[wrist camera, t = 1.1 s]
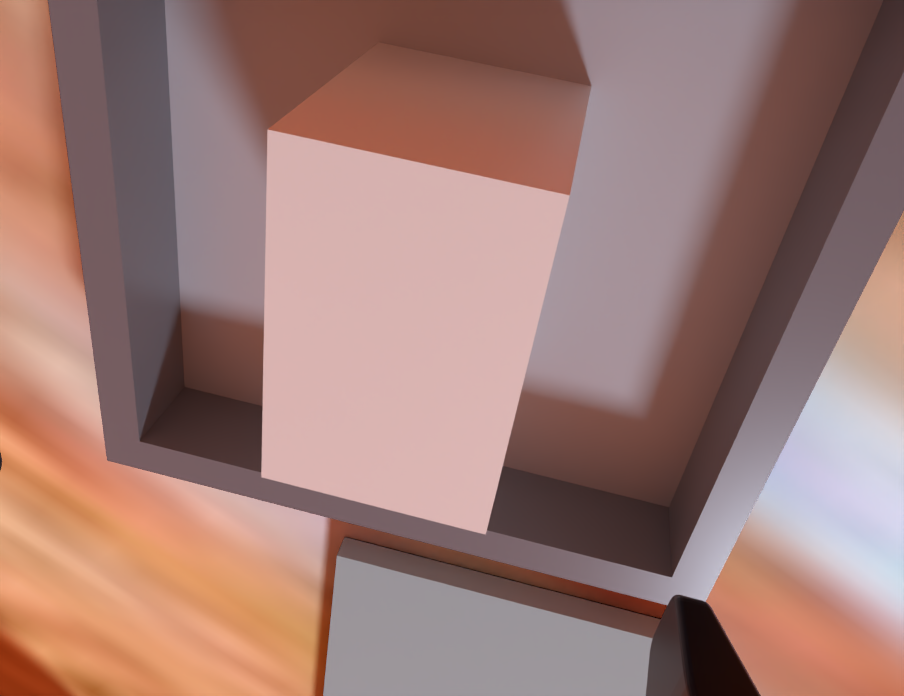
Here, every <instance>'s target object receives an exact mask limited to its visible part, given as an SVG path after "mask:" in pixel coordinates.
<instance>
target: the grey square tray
mask: <svg viewBox="0 0 904 696" xmlns="http://www.w3.org/2000/svg"><path fill="white" fill-rule="evenodd" d="M48 4H49V12H50V20H51V28H52V36H53V43H54V51H55V59H56V67H57V74H58V82H59V90H60V98H61V105H62V113H63V121H64V129H65V137H66V144H67V152H68V160H69V168H70V175H71V183H72V191H73V199H74V207H75V214H76V222H77V230H78V238H79V245H80V253H81V261H82V269H83V277H84V284H85V292H86V300H87V308H88V315H89V323H90V331H91V339H92V347H93V354H94V362H95V370H96V378H97V385H98V393H99V401H100V409H101V416H102V424H103V432H104V440H105V448H106V455H107V460H108V461H111V462H115V463H119V464H123V465H127V466H131V467H135V468H138V469H142V470H146V471H150V472H154V473H158V474H162V475H165V476H169V477H173V478H177V479H181V480H185V481H189V482H193V483H196V484H200V485H204V486H208V487H212V488H216V489H220V490H223V491H227V492H231V493H235V494H239V495H243V496H247V497H251V498H254V499H258V500H262V501H266V502H270V503H274V504H278V505H281V506H285V507H289V508H293V509H297V510H301V511H305V512H308V513H312V514H316V515H320V516H324V517H328V518H332V519H336V520H339V521H343V522H347V523H351V524H355V525H359V526H363V527H366V528H370V529H374V530H378V531H382V532H386V533H390V534H393V535H397V536H401V537H405V538H409V539H413V540H417V541H421V542H424V543H428V544H432V545H436V546H440V547H444V548H448V549H451V550H455V551H459V552H463V553H467V554H471V555H475V556H479V557H482V558H486V559H490V560H494V561H498V562H502V563H506V564H509V565H513V566H517V567H521V568H525V569H529V570H533V571H536V572H540V573H544V574H548V575H552V576H556V577H560V578H564V579H567V580H571V581H575V582H579V583H583V584H587V585H591V586H594V587H598V588H602V589H606V590H610V591H614V592H618V593H621V594H625V595H629V596H633V597H637V598H641V599H645V600H649V601H652V602H656V603H660V604H664V605H668V603H669V601H670V599H671V598H672V597H673V596H675V595H683V596H687V597H691V598H694V599H698V600H702V601H705V602H706V600H707V598H708V596H709V594H710V592H711V590H712V588H713V586H714V584H715V582H716V580H717V578H718V576H719V574H720V572H721V570H722V568H723V566H724V564H725V562H726V560H727V558H728V556H729V554H730V552H731V550H732V548H733V546H734V544H735V542H736V540H737V538H738V536H739V534H740V532H741V530H742V529H743V527H744V525H745V523H746V521H747V519H748V517H749V515H750V513H751V511H752V509H753V507H754V505H755V503H756V501H757V499H758V497H759V495H760V493H761V491H762V489H763V487H764V485H765V483H766V481H767V479H768V477H769V475H770V473H771V471H772V469H773V467H774V465H775V463H776V461H777V459H778V457H779V455H780V454H781V452H782V450H783V448H784V446H785V444H786V442H787V440H788V438H789V436H790V434H791V432H792V430H793V428H794V426H795V424H796V422H797V420H798V418H799V416H800V414H801V412H802V410H803V408H804V406H805V404H806V402H807V400H808V398H809V396H810V394H811V392H812V390H813V388H814V386H815V384H816V382H817V380H818V379H819V377H820V375H821V373H822V371H823V369H824V367H825V365H826V363H827V361H828V359H829V357H830V355H831V353H832V351H833V349H834V347H835V345H836V343H837V341H838V339H839V337H840V335H841V333H842V331H843V329H844V327H845V325H846V323H847V321H848V319H849V317H850V315H851V313H852V311H853V309H854V307H855V306H856V304H857V302H858V300H859V298H860V296H861V294H862V292H863V290H864V288H865V286H866V284H867V282H868V280H869V278H870V276H871V274H872V272H873V270H874V268H875V266H876V264H877V262H878V260H879V258H880V256H881V254H882V252H883V250H884V248H885V246H886V244H887V242H888V240H889V238H890V236H891V234H892V232H893V231H894V229H895V227H896V225H897V223H898V221H899V219H900V217H901V215H902V213H903V211H904V0H48ZM379 42H380V43H385V44H390V45H395V46H399V47H404V48H409V49H414V50H419V51H424V52H429V53H433V54H438V55H443V56H448V57H453V58H458V59H462V60H467V61H472V62H477V63H482V64H487V65H492V66H496V67H501V68H506V69H511V70H516V71H521V72H525V73H530V74H535V75H540V76H545V77H550V78H555V79H559V80H564V81H569V82H574V83H579V84H584V85H588V86H591V91H590V96H589V101H588V106H587V111H586V116H585V121H584V126H583V131H582V136H581V141H580V146H579V151H578V156H577V161H576V166H575V171H574V176H573V182H572V187H571V192H570V196H569V200H568V204H567V209H566V213H565V217H564V221H563V225H562V229H561V233H560V237H559V241H558V245H557V249H556V253H555V257H554V261H553V265H552V269H551V273H550V277H549V281H548V285H547V289H546V293H545V297H544V301H543V305H542V309H541V313H540V317H539V321H538V326H537V330H536V334H535V338H534V342H533V346H532V350H531V354H530V358H529V362H528V366H527V370H526V374H525V378H524V382H523V386H522V390H521V394H520V398H519V402H518V406H517V410H516V414H515V418H514V422H513V426H512V430H511V434H510V438H509V443H508V447H507V451H506V455H505V459H504V463H503V467H502V471H501V475H500V479H499V483H498V487H497V491H496V495H495V499H494V503H493V507H492V511H491V515H490V519H489V523H488V527H487V531H486V535H485V534H481V533H477V532H473V531H469V530H465V529H461V528H458V527H454V526H450V525H446V524H442V523H438V522H434V521H430V520H426V519H422V518H419V517H415V516H411V515H407V514H403V513H399V512H395V511H391V510H387V509H383V508H380V507H376V506H372V505H368V504H364V503H360V502H356V501H352V500H348V499H344V498H341V497H337V496H333V495H329V494H325V493H321V492H317V491H313V490H309V489H305V488H301V487H298V486H294V485H290V484H286V483H282V482H278V481H274V480H270V479H266V478H262V477H261V467H262V411H263V355H264V299H265V243H266V187H267V131H268V129H269V128H270V127H271V126H273V125H274V124H275V123H276V122H278V121H279V120H280V119H282V118H283V117H284V116H285V115H287V114H288V113H289V112H290V111H292V110H293V109H294V108H296V107H297V106H298V105H299V104H301V103H302V102H303V101H305V100H306V99H307V98H308V97H310V96H311V95H312V94H313V93H315V92H316V91H317V90H319V89H320V88H321V87H322V86H324V85H325V84H326V83H327V82H329V81H330V80H331V79H333V78H334V77H335V76H336V75H338V74H339V73H340V72H342V71H343V70H344V69H345V68H347V67H348V66H349V65H350V64H352V63H353V62H354V61H356V60H357V59H358V58H359V57H361V56H362V55H363V54H365V53H366V52H367V51H368V50H370V49H371V48H372V47H373V46H375V45H376V44H377V43H379Z"/></svg>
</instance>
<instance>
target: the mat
mask: <svg viewBox="0 0 904 696" xmlns="http://www.w3.org/2000/svg"><path fill="white" fill-rule="evenodd" d="M660 620H661V619H657V618H654V617H650V616H646V615H642V614H638V613H634V612H631V611H627V610H623V609H619V608H615V607H611V606H608V605H604V604H600V603H596V602H592V601H588V600H585V599H581V598H577V597H573V596H569V595H565V594H561V593H558V592H554V591H550V590H546V589H542V588H538V587H535V586H531V585H527V584H523V583H519V582H515V581H512V580H508V579H504V578H500V577H496V576H492V575H489V574H485V573H481V572H477V571H473V570H469V569H465V568H462V567H458V566H454V565H450V564H446V563H442V562H439V561H435V560H431V559H427V558H423V557H419V556H416V555H412V554H408V553H404V552H400V551H396V550H393V549H389V548H385V547H381V546H377V545H373V544H369V543H366V542H362V541H358V540H354V539H350V538H346V537H344V540H343V542H342V545H341V547H340V549H339V552H338V554H337V559H336V569H335V579H334V590H333V600H332V610H331V620H330V630H329V641H328V651H327V661H326V671H325V681H324V692H323V696H646V687H647V676H648V665H649V655H650V648H651V643H652V639H653V636H654V633H655V631H656V629H657V627H658V625H659V622H660Z"/></svg>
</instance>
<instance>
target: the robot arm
mask: <svg viewBox="0 0 904 696" xmlns="http://www.w3.org/2000/svg"><path fill="white" fill-rule="evenodd" d="M1 466H2V458H1V453H0V470H1ZM646 696H761V695H760V694H759V692H758V690H757V688H756V687H755V685H754V683H753V681H752V679H751V678H750V676H749V674H748V672H747V670H746V669H745V667H744V665H743V663H742V661H741V660H740V658H739V656H738V654H737V653H736V651H735V649H734V647H733V645H732V644H731V642H730V640H729V638H728V636H727V635H726V633H725V631H724V629H723V628H722V626H721V624H720V622H719V620H718V619H717V617H716V615H715V613H714V611H713V610H712V608H711V607H710V605H709V604H708V603H706V602H705V601H702V600H698V599H694V598H691V597H687V596H683V595H675V596H673V597H672V598H671V599H670V601H669V603H668V605H667V607H666V610H665V612H664V614H663V616H662V618H661V620H660V622H659V625H658V627H657V629H656V631H655V633H654V636H653V639H652V643H651V648H650V655H649V665H648V676H647V687H646Z"/></svg>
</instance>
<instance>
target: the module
mask: <svg viewBox="0 0 904 696" xmlns="http://www.w3.org/2000/svg"><path fill="white" fill-rule="evenodd" d="M590 91H591V86H588V85H584V84H579V83H574V82H569V81H564V80H559V79H555V78H550V77H545V76H540V75H535V74H530V73H525V72H521V71H516V70H511V69H506V68H501V67H496V66H492V65H487V64H482V63H477V62H472V61H467V60H462V59H458V58H453V57H448V56H443V55H438V54H433V53H429V52H424V51H419V50H414V49H409V48H404V47H399V46H395V45H390V44H385V43H380V42H379V43H377V44H376V45H375V46H373V47H372V48H371V49H370V50H368V51H367V52H366V53H365V54H363V55H362V56H361V57H359V58H358V59H357V60H356V61H354V62H353V63H352V64H350V65H349V66H348V67H347V68H345V69H344V70H343V71H342V72H340V73H339V74H338V75H336V76H335V77H334V78H333V79H331V80H330V81H329V82H327V83H326V84H325V85H324V86H322V87H321V88H320V89H319V90H317V91H316V92H315V93H313V94H312V95H311V96H310V97H308V98H307V99H306V100H305V101H303V102H302V103H301V104H299V105H298V106H297V107H296V108H294V109H293V110H292V111H290V112H289V113H288V114H287V115H285V116H284V117H283V118H282V119H280V120H279V121H278V122H276V123H275V124H274V125H273V126H271V127H270V128H269V129H268V131H267V187H266V243H265V299H264V355H263V411H262V467H261V477H262V478H266V479H270V480H274V481H278V482H282V483H286V484H290V485H294V486H298V487H301V488H305V489H309V490H313V491H317V492H321V493H325V494H329V495H333V496H337V497H341V498H344V499H348V500H352V501H356V502H360V503H364V504H368V505H372V506H376V507H380V508H383V509H387V510H391V511H395V512H399V513H403V514H407V515H411V516H415V517H419V518H422V519H426V520H430V521H434V522H438V523H442V524H446V525H450V526H454V527H458V528H461V529H465V530H469V531H473V532H477V533H481V534H485V535H486V531H487V527H488V523H489V519H490V515H491V511H492V507H493V503H494V499H495V495H496V491H497V487H498V483H499V479H500V475H501V471H502V467H503V463H504V459H505V455H506V451H507V447H508V443H509V438H510V434H511V430H512V426H513V422H514V418H515V414H516V410H517V406H518V402H519V398H520V394H521V390H522V386H523V382H524V378H525V374H526V370H527V366H528V362H529V358H530V354H531V350H532V346H533V342H534V338H535V334H536V330H537V326H538V321H539V317H540V313H541V309H542V305H543V301H544V297H545V293H546V289H547V285H548V281H549V277H550V273H551V269H552V265H553V261H554V257H555V253H556V249H557V245H558V241H559V237H560V233H561V229H562V225H563V221H564V217H565V213H566V209H567V204H568V200H569V196H570V192H571V187H572V182H573V176H574V171H575V166H576V161H577V156H578V151H579V146H580V141H581V136H582V131H583V126H584V121H585V116H586V111H587V106H588V101H589V96H590Z"/></svg>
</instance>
